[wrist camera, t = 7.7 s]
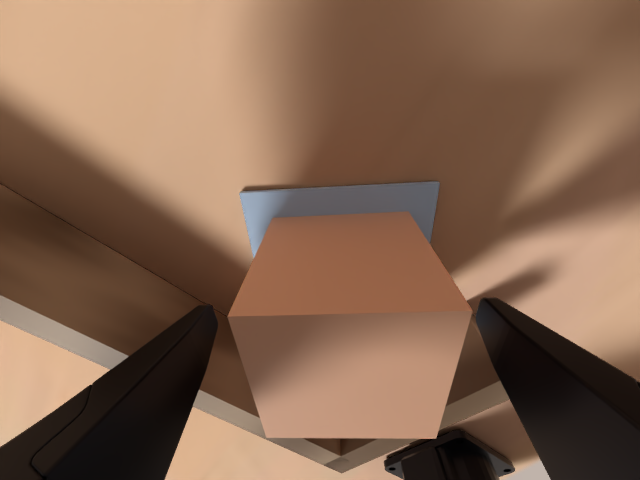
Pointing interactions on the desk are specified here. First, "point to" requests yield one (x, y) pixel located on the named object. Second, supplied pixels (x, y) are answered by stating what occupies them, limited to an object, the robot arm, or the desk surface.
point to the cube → (349, 328)
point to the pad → (339, 204)
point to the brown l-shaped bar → (161, 312)
